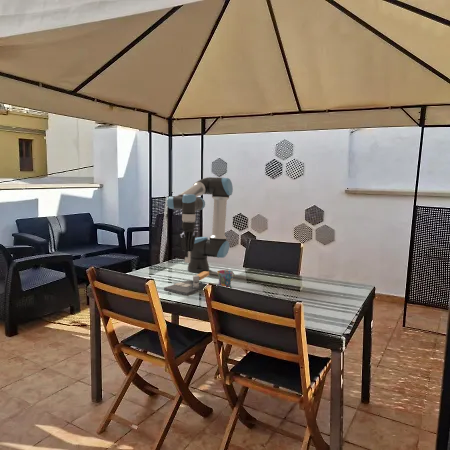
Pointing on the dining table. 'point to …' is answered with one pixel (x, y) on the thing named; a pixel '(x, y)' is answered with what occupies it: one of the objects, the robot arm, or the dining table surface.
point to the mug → (225, 277)
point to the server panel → (186, 287)
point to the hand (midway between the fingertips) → (187, 262)
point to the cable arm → (200, 276)
